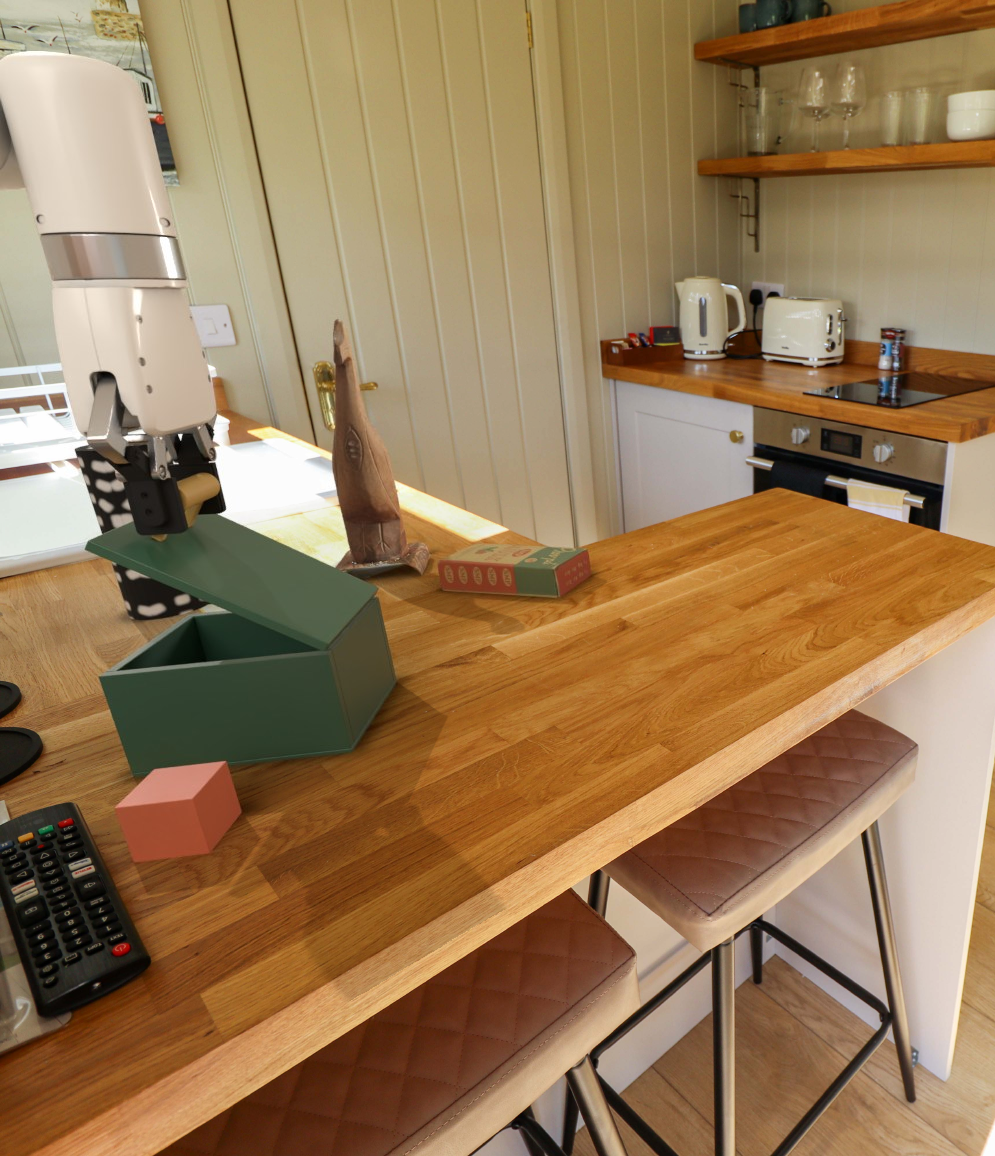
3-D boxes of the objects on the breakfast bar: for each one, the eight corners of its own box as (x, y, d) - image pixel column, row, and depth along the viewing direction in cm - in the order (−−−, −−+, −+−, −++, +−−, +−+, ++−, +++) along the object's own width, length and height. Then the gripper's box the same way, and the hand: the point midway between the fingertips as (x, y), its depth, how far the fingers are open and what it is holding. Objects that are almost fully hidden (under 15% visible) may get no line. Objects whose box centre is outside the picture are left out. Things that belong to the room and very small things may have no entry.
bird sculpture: (329, 592, 102) (265, 322, 91) (343, 566, 112) (287, 321, 102) (425, 579, 105) (374, 317, 94) (430, 554, 115) (384, 316, 105)
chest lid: (83, 549, 56) (110, 483, 55) (180, 506, 68) (204, 451, 67) (324, 652, 61) (354, 592, 60) (375, 595, 72) (401, 544, 71)
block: (212, 859, 52) (192, 798, 51) (135, 868, 52) (113, 808, 50) (243, 817, 57) (226, 760, 55) (173, 826, 56) (154, 768, 55)
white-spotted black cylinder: (118, 615, 97) (63, 447, 91) (196, 594, 104) (149, 435, 97) (146, 628, 93) (90, 452, 86) (226, 605, 99) (179, 439, 93)
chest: (134, 782, 62) (97, 676, 59) (215, 705, 73) (188, 613, 70) (353, 757, 64) (328, 653, 61) (398, 685, 75) (378, 596, 72)
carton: (482, 572, 107) (477, 540, 105) (593, 578, 102) (589, 545, 101) (441, 593, 99) (435, 560, 98) (559, 601, 95) (555, 566, 93)
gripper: (130, 272, 64) (188, 500, 70) (-39, 262, 48) (55, 559, 54) (234, 270, 65) (283, 495, 71) (102, 260, 49) (179, 552, 55)
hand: (184, 520), depth 62 cm, fingers closed on chest lid, 5 cm apart
